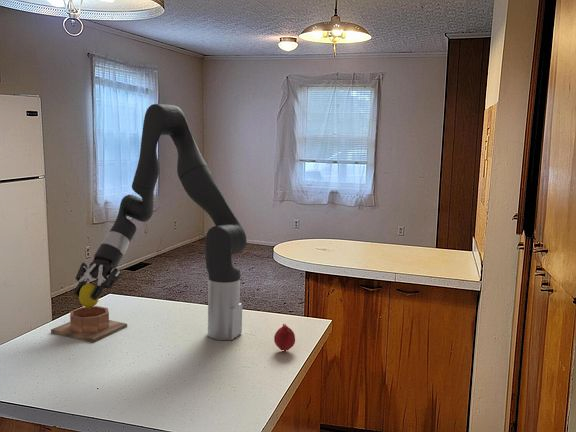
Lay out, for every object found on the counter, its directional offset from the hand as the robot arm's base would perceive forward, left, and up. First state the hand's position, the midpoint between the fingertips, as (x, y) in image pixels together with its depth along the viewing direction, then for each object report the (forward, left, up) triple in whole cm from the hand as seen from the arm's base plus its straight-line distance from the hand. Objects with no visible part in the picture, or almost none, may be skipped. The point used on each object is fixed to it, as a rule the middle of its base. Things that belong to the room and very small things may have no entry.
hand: (84, 296), depth 153 cm
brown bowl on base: (0, -2, -11) cm, 11 cm away
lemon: (0, -2, -4) cm, 5 cm away
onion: (-58, -14, -11) cm, 61 cm away
